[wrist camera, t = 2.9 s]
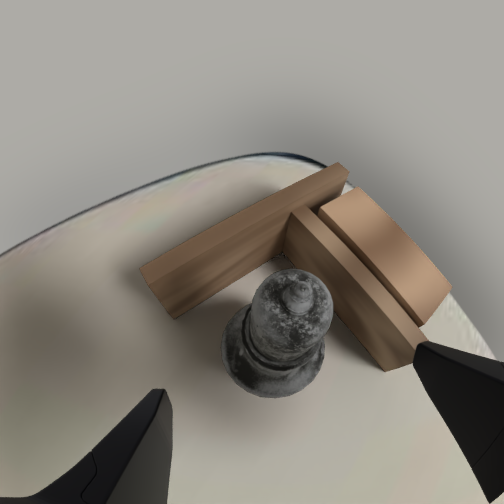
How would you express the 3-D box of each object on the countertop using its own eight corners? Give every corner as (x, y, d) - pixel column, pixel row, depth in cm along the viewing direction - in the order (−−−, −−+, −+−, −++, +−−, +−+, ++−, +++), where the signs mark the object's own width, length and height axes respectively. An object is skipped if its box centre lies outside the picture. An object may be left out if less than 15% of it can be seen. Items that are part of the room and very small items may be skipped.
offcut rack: (425, 325, 19) (470, 296, 14) (277, 462, 14) (292, 487, 9) (321, 211, 24) (337, 162, 19) (165, 306, 19) (139, 268, 14)
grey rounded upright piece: (317, 326, 19) (395, 227, 9) (301, 406, 16) (387, 406, 6) (238, 308, 20) (231, 188, 9) (215, 386, 17) (165, 360, 6)
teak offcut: (436, 299, 16) (452, 287, 15) (407, 333, 15) (424, 324, 13) (350, 204, 20) (358, 186, 19) (314, 225, 19) (320, 207, 17)
